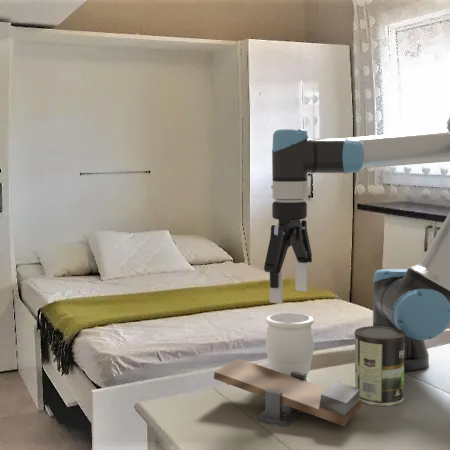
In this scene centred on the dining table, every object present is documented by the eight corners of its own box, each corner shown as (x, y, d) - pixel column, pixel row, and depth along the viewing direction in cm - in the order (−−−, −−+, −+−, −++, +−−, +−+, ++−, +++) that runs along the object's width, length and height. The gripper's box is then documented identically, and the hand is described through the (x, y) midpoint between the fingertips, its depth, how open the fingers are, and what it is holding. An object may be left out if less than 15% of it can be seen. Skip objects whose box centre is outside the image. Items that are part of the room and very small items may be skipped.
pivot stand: (257, 420, 125) (257, 390, 125) (287, 396, 137) (287, 369, 137) (285, 426, 122) (285, 396, 122) (313, 401, 134) (313, 373, 134)
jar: (304, 373, 152) (304, 310, 150) (320, 388, 142) (320, 321, 140) (261, 377, 150) (260, 313, 148) (273, 393, 140) (273, 325, 138)
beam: (213, 378, 132) (216, 360, 131) (237, 364, 140) (239, 347, 140) (343, 426, 119) (347, 406, 118) (361, 407, 127) (364, 388, 126)
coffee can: (402, 389, 141) (403, 326, 139) (405, 408, 131) (407, 340, 129) (354, 387, 143) (354, 324, 141) (353, 404, 133) (354, 337, 131)
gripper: (296, 196, 154) (296, 284, 156) (247, 204, 132) (248, 306, 135) (326, 197, 150) (325, 287, 152) (281, 205, 129) (280, 310, 131)
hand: (289, 296), depth 144 cm, fingers open, 13 cm apart
